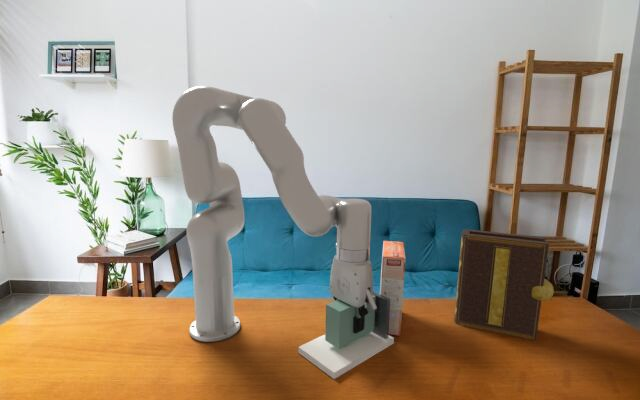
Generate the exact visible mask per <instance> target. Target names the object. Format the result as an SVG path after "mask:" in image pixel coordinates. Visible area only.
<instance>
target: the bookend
mask: <svg viewBox="0 0 640 400" xmlns="http://www.w3.org/2000/svg"><path fill="white" fill-rule="evenodd" d="M373 295H374V296H376V299H375V305H376V307H377V309H376V310H375V320H374V331H372V332H373V333H375V334H377V335H378V336H380V337H382V338H384V339H386V338H388V335H389V314H390V299H389V298H387V297H384V296H382V295H380V293H377V292H375V291H373Z"/></svg>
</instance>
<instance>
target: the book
mask: <svg viewBox="0 0 640 400" xmlns="http://www.w3.org/2000/svg"><path fill="white" fill-rule="evenodd" d="M549 249H550V243H549V242H548V241H546V238H545V237H544V236H538V235H537V236H536V235H525V234H515V233H508V232H507V233H506V232H495V231H485V230H477V229H476V230H475V229H462V230H461V241H460V250H459V251H460V252H459V263H458V274H457V275H458V276H457V284H456V285H457V287H456V295H455V296H456V297H455V306H454V307H455V308H454V321H453V322H454V323H455V324H456V325H458V326H460V327H465V328H471V329H475V330H480V331H487V332H492V333H497V334H502V335H507V336H512V337H517V338H522V339H527V340H531V341H536V340H537V337H538V329H539V322H540V314H541V308H542V302H544V301H546V302H547V301H548V300H551V299H552V297H553V295H554V291H555V290H554V286H553V283H551V282H550V281H549V280H548V279H545V278H546V269H547V262H548V254H549Z"/></svg>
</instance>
